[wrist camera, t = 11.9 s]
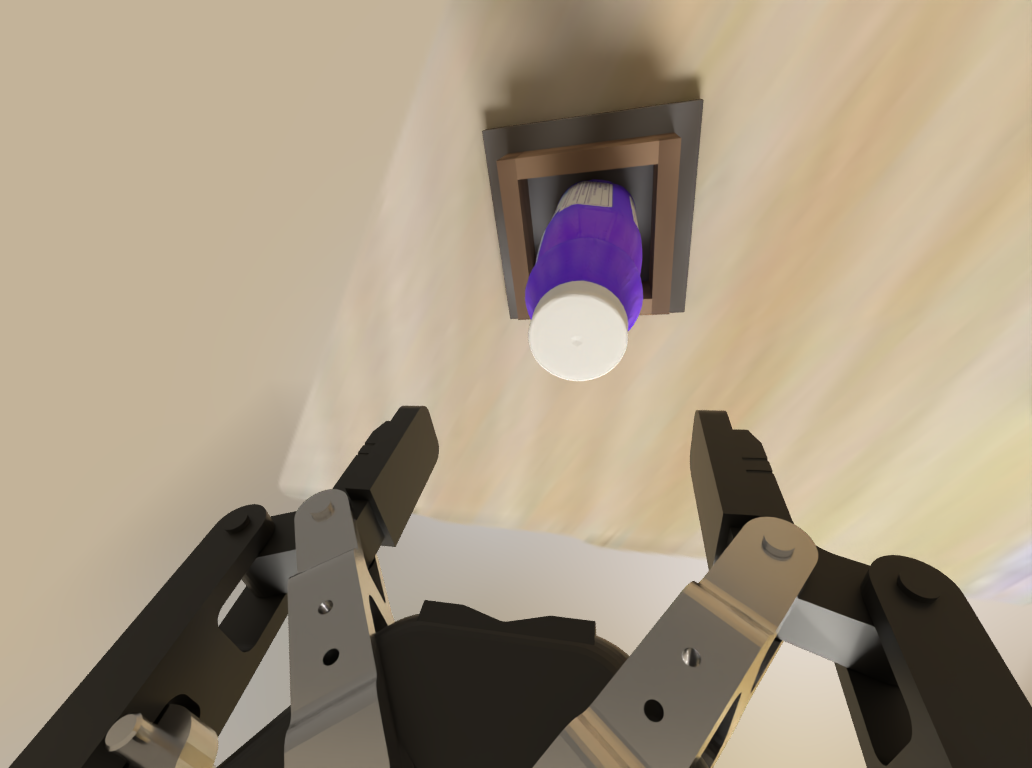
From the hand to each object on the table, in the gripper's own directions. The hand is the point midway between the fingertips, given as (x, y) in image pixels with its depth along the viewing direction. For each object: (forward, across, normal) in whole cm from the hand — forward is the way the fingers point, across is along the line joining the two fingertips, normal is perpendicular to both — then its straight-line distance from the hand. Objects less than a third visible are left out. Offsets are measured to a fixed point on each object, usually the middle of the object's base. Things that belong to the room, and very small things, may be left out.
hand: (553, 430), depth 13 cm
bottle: (+23, 0, 0) cm, 23 cm away
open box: (+24, 0, 0) cm, 24 cm away
